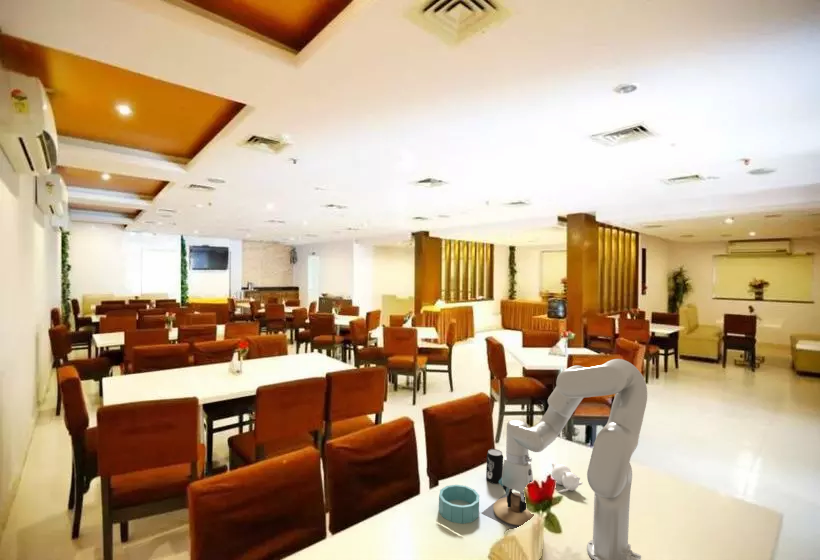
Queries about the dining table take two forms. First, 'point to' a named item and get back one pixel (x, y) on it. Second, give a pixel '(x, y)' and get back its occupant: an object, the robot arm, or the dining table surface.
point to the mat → (491, 514)
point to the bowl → (459, 504)
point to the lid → (511, 510)
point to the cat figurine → (565, 477)
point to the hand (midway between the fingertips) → (516, 507)
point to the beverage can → (494, 466)
